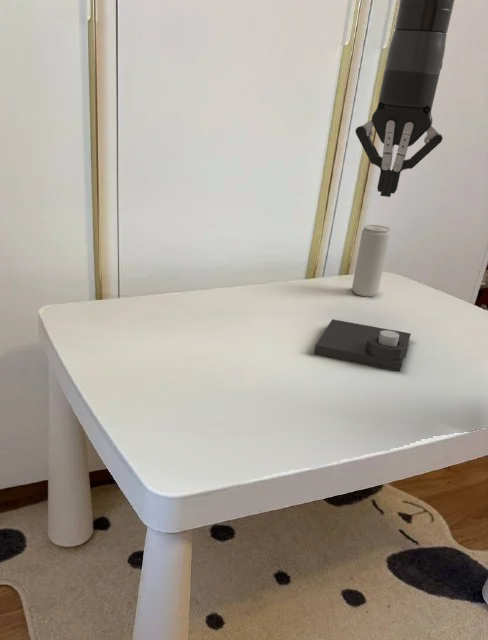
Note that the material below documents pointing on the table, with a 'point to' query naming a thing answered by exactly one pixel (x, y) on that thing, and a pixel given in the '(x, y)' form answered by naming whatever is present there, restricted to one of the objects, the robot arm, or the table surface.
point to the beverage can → (370, 260)
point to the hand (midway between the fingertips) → (385, 195)
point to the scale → (361, 345)
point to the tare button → (388, 338)
